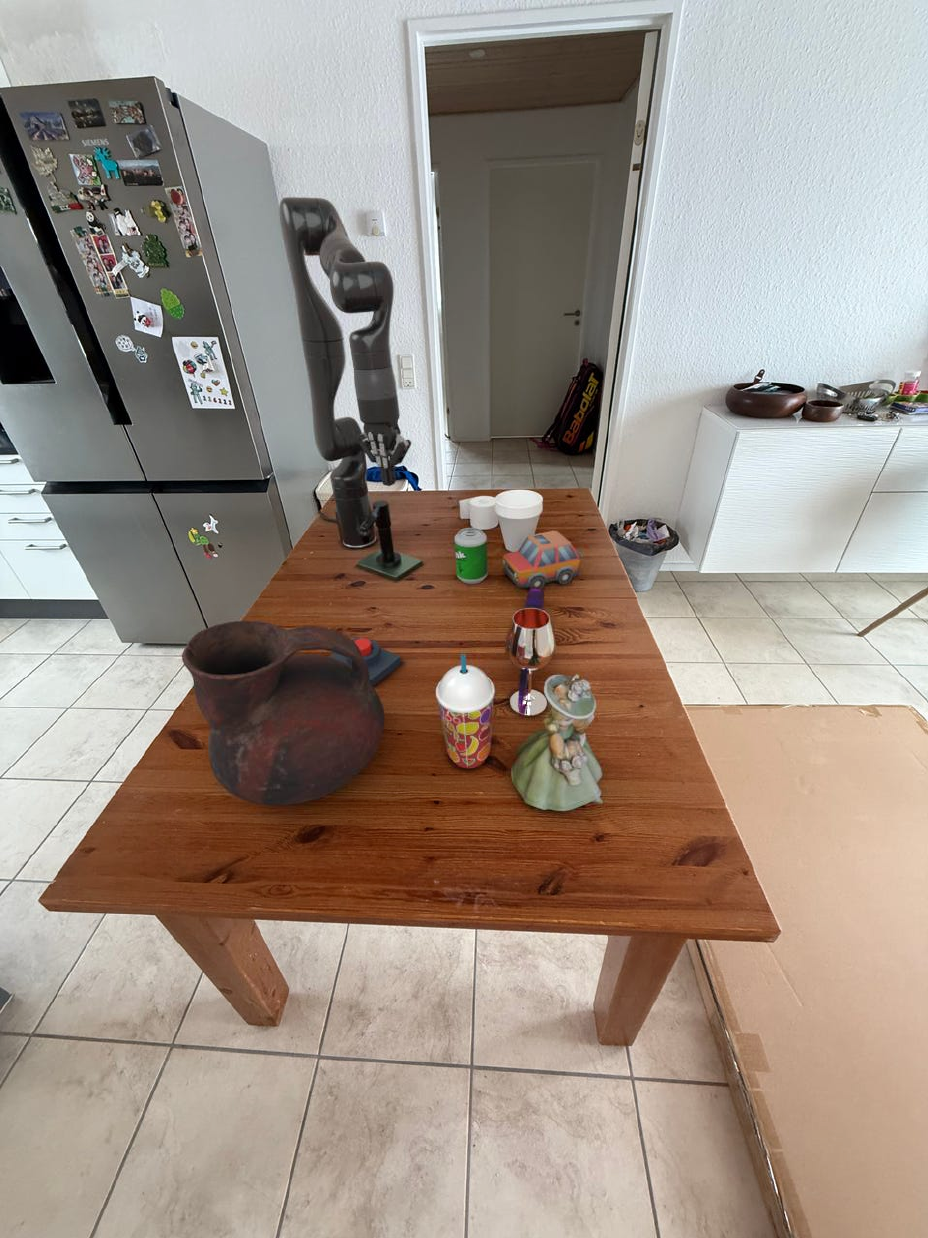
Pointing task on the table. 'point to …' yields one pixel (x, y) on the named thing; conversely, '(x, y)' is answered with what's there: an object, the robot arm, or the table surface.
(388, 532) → the tap base
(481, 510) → the toilet paper
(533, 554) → the toy car
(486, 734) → the smoothie
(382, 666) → the button box
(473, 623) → the table surface
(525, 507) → the cup
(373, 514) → the spout
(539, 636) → the wineglass
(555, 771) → the figurine
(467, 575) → the soda can
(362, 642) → the button
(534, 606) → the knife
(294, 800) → the jug
